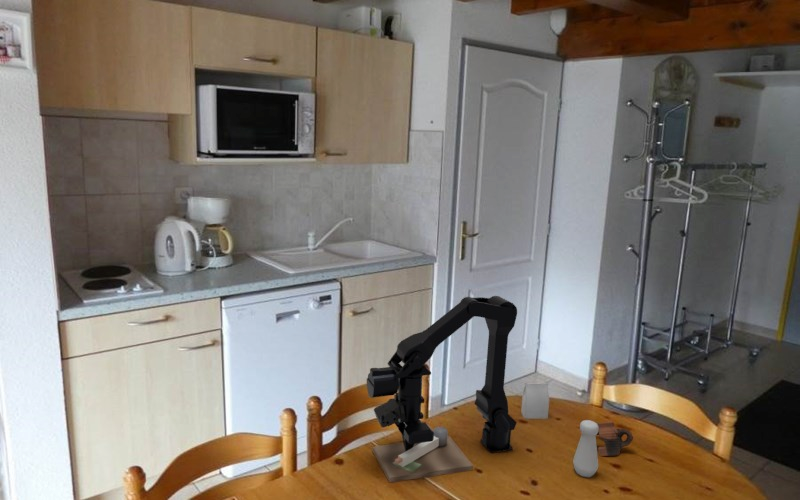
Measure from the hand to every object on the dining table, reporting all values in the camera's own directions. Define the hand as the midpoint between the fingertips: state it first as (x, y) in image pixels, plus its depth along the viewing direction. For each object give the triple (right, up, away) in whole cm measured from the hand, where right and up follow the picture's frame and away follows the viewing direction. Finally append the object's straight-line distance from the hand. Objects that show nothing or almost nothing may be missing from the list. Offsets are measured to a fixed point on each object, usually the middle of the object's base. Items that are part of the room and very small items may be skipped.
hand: (407, 451), depth 144 cm
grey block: (+37, +1, +27) cm, 46 cm away
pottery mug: (+53, -3, +10) cm, 54 cm away
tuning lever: (+3, -1, 0) cm, 3 cm away
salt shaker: (+43, -5, -2) cm, 43 cm away
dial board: (+3, -2, 0) cm, 4 cm away
